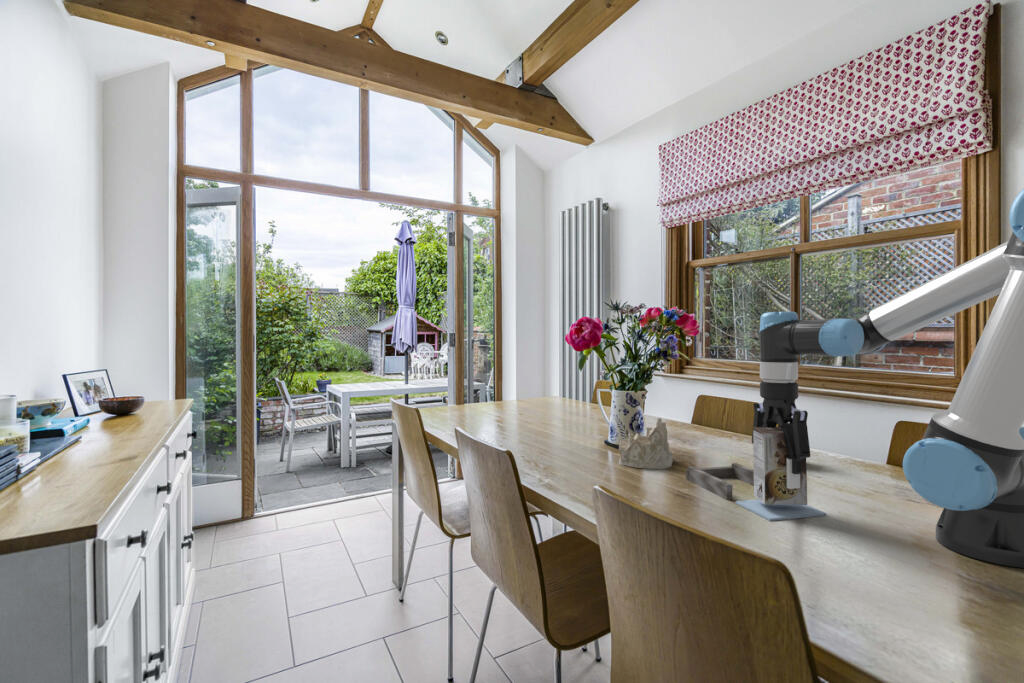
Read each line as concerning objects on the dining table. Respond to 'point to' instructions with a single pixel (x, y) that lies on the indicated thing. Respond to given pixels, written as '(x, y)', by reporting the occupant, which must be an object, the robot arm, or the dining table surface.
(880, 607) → the dining table surface
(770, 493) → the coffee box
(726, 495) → the tray
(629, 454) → the ceramic cottage
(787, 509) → the mat
